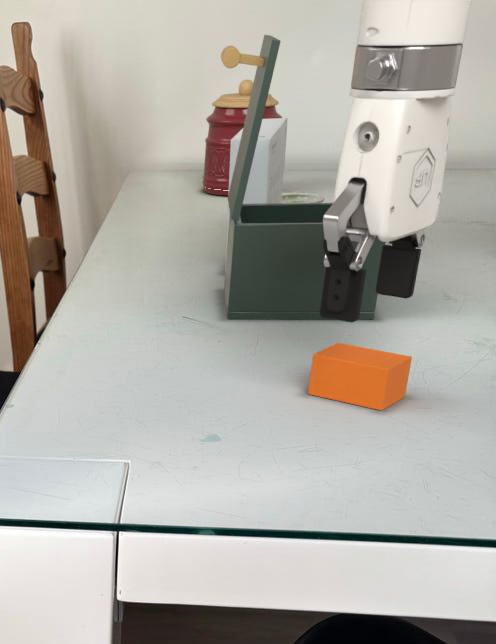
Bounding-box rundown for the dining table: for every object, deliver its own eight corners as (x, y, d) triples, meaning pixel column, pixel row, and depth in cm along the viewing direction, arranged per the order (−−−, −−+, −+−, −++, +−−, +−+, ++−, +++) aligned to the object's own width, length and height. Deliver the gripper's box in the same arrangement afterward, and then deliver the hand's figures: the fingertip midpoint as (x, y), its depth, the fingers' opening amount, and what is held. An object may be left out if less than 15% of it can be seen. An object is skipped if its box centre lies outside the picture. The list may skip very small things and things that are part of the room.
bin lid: (271, 35, 106) (225, 28, 107) (280, 40, 96) (229, 32, 96) (234, 200, 115) (191, 193, 116) (238, 220, 105) (191, 213, 105)
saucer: (269, 206, 167) (271, 191, 165) (328, 209, 163) (330, 193, 161) (253, 217, 159) (254, 200, 158) (314, 220, 156) (316, 203, 154)
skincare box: (241, 241, 145) (251, 117, 136) (279, 242, 143) (292, 117, 134) (219, 274, 128) (230, 136, 119) (263, 276, 126) (276, 136, 118)
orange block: (405, 397, 88) (412, 356, 86) (381, 411, 85) (388, 369, 83) (332, 381, 92) (337, 342, 90) (307, 394, 89) (312, 354, 87)
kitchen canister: (287, 193, 176) (299, 79, 167) (218, 199, 174) (226, 83, 165) (256, 183, 187) (265, 75, 178) (191, 188, 185) (197, 79, 175)
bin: (357, 290, 119) (370, 202, 113) (373, 319, 108) (388, 223, 103) (223, 290, 121) (230, 203, 116) (227, 319, 110) (234, 224, 105)
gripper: (400, 82, 67) (359, 337, 77) (500, 68, 78) (454, 293, 87) (300, 79, 72) (273, 321, 81) (408, 66, 82) (373, 281, 92)
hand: (367, 306), depth 84 cm, fingers open, 9 cm apart
